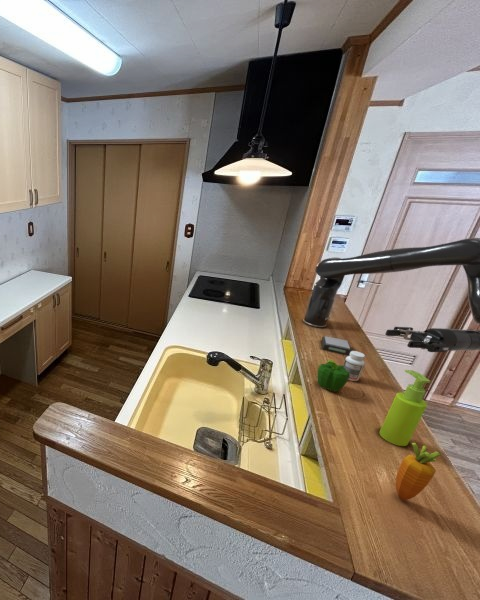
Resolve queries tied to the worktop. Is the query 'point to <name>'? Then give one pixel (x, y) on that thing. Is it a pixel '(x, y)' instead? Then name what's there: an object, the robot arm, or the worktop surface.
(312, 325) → the robot arm
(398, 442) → the soap dispenser
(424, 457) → the carrot
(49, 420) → the worktop surface
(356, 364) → the pill bottle
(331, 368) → the bell pepper
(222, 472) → the worktop surface
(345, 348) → the scale
